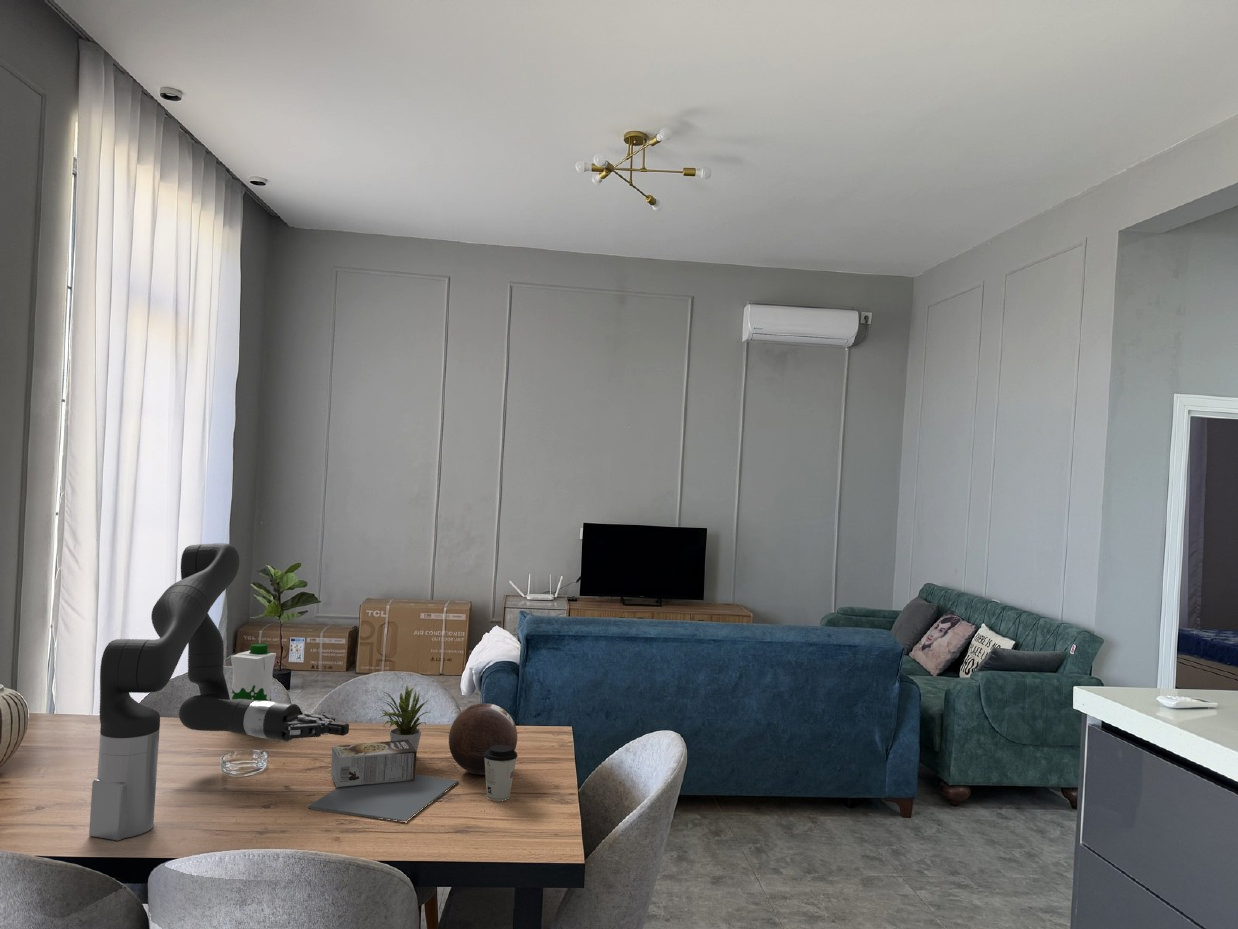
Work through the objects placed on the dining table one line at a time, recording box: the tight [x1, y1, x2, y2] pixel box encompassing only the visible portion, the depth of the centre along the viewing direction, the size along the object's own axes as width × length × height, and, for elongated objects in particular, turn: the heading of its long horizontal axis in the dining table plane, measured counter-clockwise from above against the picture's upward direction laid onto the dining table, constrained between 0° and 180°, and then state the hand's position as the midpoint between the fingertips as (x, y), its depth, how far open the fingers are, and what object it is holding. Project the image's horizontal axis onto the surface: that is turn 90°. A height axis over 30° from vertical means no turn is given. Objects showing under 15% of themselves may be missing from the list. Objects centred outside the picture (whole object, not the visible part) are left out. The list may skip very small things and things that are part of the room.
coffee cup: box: [484, 745, 518, 802], centre depth 181 cm, size 7×7×10 cm
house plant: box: [376, 685, 433, 752], centre depth 204 cm, size 14×14×16 cm
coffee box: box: [330, 739, 418, 788], centre depth 187 cm, size 9×6×16 cm
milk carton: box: [230, 642, 277, 701], centre depth 221 cm, size 9×9×20 cm
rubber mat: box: [307, 773, 459, 821], centre depth 179 cm, size 24×20×1 cm
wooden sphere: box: [448, 702, 518, 775], centre depth 196 cm, size 15×15×15 cm
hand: (347, 729), depth 182 cm, fingers closed
